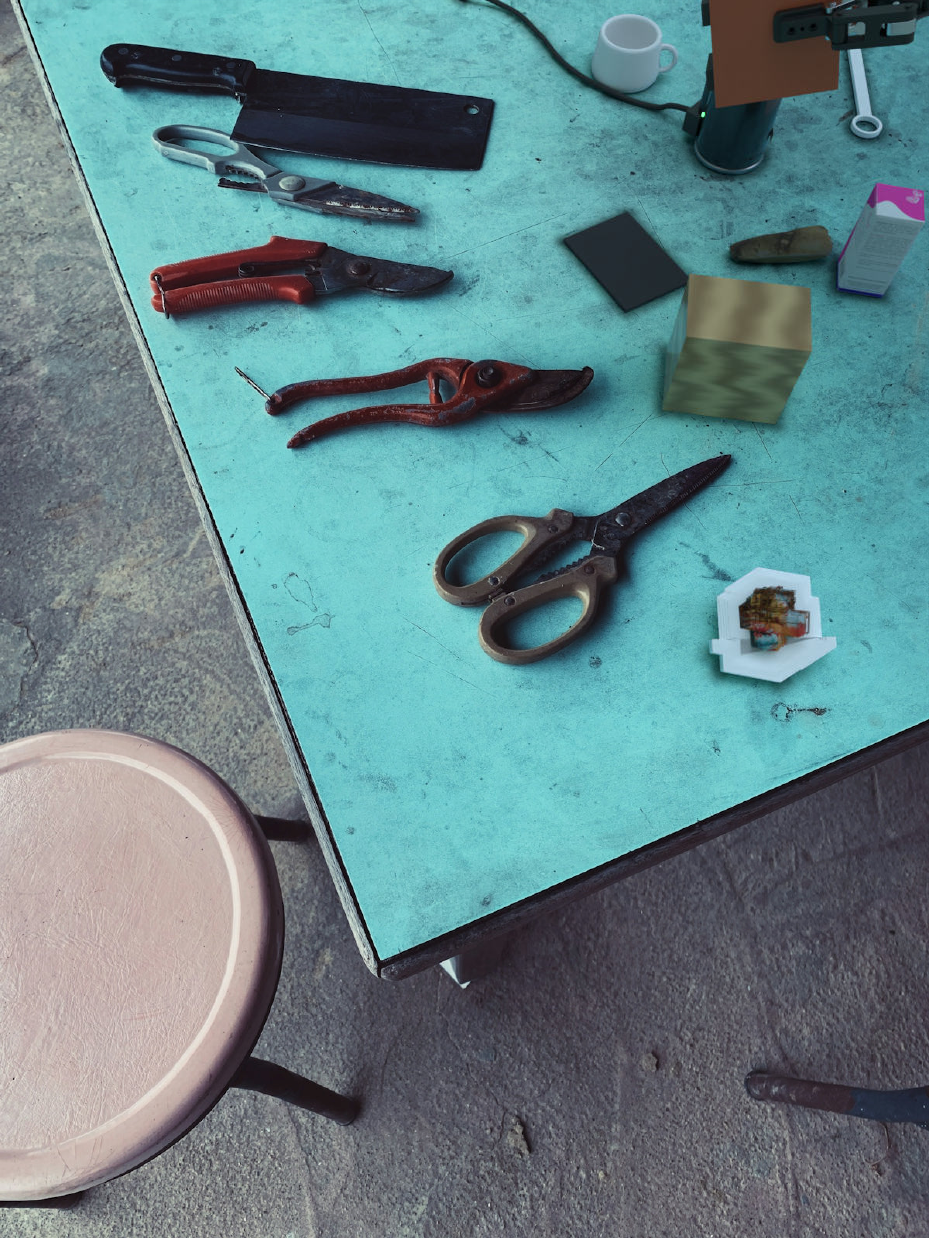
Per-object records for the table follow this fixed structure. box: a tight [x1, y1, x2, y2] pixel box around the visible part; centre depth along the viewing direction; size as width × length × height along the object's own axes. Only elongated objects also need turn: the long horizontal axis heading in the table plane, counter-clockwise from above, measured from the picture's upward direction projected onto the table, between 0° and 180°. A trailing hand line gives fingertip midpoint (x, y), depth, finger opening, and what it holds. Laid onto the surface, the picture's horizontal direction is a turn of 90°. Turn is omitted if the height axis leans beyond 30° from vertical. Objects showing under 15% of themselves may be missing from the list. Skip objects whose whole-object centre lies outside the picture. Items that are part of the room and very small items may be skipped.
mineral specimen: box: [708, 566, 838, 683], centre depth 91 cm, size 12×12×7 cm
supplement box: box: [836, 182, 926, 299], centre depth 111 cm, size 6×6×12 cm
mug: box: [591, 13, 679, 94], centre depth 131 cm, size 12×10×6 cm
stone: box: [728, 224, 834, 264], centre depth 117 cm, size 13×5×2 cm, turn 101°
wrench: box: [846, 49, 883, 139], centre depth 133 cm, size 25×1×5 cm
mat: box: [562, 211, 689, 314], centre depth 117 cm, size 14×10×1 cm
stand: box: [661, 273, 813, 425], centre depth 103 cm, size 13×9×12 cm
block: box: [700, 0, 841, 108], centre depth 78 cm, size 11×6×9 cm, turn 78°
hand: (776, 8), depth 76 cm, fingers closed on block, 5 cm apart
